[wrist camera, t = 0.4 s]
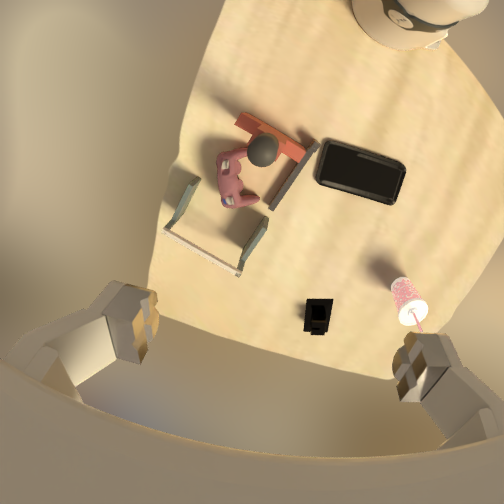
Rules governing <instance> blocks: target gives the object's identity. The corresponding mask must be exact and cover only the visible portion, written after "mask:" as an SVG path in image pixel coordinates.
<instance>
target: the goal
mask: <svg viewBox="0 0 504 504" xmlns="http://www.w3.org/2000/svg"><path fill="white" fill-rule="evenodd" d="M200 181H201V178H199V177H196V178H195V179H194V180H193V181H192V182H191V183H189V185H188V187H187V189H186V191H185V193H184V195H183V197H182V199H181V201H180V203H179V205H178V207H177V209H176V211H175V213H174V215H173V217H172V219H171V220H170V221H169V222H168V224H167V225H166V226H165V227H164V228H163V229H162V231H161V233H162V234H164V235H166V236H167V237H169V238H171V239H173V240H174V241H176V242H178V243H179V244H181V245H183V246H185V247H186V248H188V249H190V250H191V251H193V252H195V253H197V254H198V255H200V256H202V257H204V258H205V259H207V260H209V261H211V262H212V263H214V264H216V265H218V266H220V267H221V268H223V269H225V270H227V271H228V272H230V273H232V274H234V275H235V276H237V277H240V276H241V274H242V271H243V267H244V264H245V261H246V260H247V258H248V257H249V255H250V254H251V252H252V251H253V249H254V248H255V246H256V245H257V244H258V242H259V241H260V239H261V238H262V236H263V235H264V233H265V232H266V231H267V227H268V222H269V218H268V217H266V216H265V217H264V219H263V220H262V222H261V223H260V225H259V226H258V228H257V229H256V231H255V232H254V234H253V235H252V237H251V238H250V240H249V241H248V243H247V244H246V246H245V247H244V249H243V251H242V254H241V257H240V260H239V264H238V267H237V268H235V267H233V266H232V265H230V264H228V263H226V262H225V261H223V260H221V259H219V258H218V257H216V256H214V255H212V254H211V253H209V252H207V251H205V250H204V249H202V248H200V247H198V246H197V245H195V244H193V243H191V242H190V241H188V240H186V239H185V238H183V237H181V236H179V235H178V234H176V233H174V232H172V231H171V230H170V229H171V228H172V227H173V225H174V224H175V223H176V222H177V221H178V220H179V219H180V217H181V216H182V215H183V214H184V212H185V210H186V208H187V206H188V204H189V202H190V200H191V198H192V196H193V194H194V192H195V190H196V188H197V186H198V184H199V183H200Z"/></svg>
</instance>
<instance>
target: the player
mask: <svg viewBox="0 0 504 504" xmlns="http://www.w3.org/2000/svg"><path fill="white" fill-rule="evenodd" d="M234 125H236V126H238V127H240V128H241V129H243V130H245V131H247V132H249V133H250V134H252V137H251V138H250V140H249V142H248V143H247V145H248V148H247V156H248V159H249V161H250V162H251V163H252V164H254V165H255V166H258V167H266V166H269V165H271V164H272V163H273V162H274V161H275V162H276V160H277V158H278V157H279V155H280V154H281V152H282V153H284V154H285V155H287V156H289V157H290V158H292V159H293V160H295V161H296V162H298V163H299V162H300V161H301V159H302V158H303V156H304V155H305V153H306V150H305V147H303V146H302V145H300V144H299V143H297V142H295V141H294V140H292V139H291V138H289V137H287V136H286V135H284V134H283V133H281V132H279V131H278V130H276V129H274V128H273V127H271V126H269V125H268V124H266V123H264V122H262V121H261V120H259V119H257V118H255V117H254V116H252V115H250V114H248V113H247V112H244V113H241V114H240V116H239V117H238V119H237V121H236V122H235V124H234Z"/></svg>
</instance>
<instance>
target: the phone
mask: <svg viewBox="0 0 504 504" xmlns="http://www.w3.org/2000/svg"><path fill="white" fill-rule="evenodd" d="M405 174H406V167H405V166H404V165H403V164H401V163H398V162H397V161H393V160H392V159H389V158H385V157H384V156H379V155H376V154H373V153H370V152H367V151H364V150H361V149H358V148H355V147H352V146H348V145H345V144H342V143H338V142H335V141H327V142H326V143H325V145H324V148H323V152H322V156H321V159H320V163H319V167H318V171H317V174H316V181H317V183H318V184H319V185H322V186H326V187H329V188H333V189H336V190H340V191H344V192H347V193H350V194H354V195H357V196H361V197H364V198H367V199H370V200H374V201H377V202H380V203H383V204H386V205H393V204H395V202H396V200H397V197H398V194H399V192H400V189H401V186H402V183H403V180H404V177H405Z"/></svg>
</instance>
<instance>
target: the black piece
mask: <svg viewBox="0 0 504 504" xmlns="http://www.w3.org/2000/svg"><path fill="white" fill-rule="evenodd" d="M332 305H333V299H307V301H306V311H305V321H304V330H303V331H304V332H310V333H311V335H324V334H325V332H328V326H329V321H330V316H331V310H332Z"/></svg>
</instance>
